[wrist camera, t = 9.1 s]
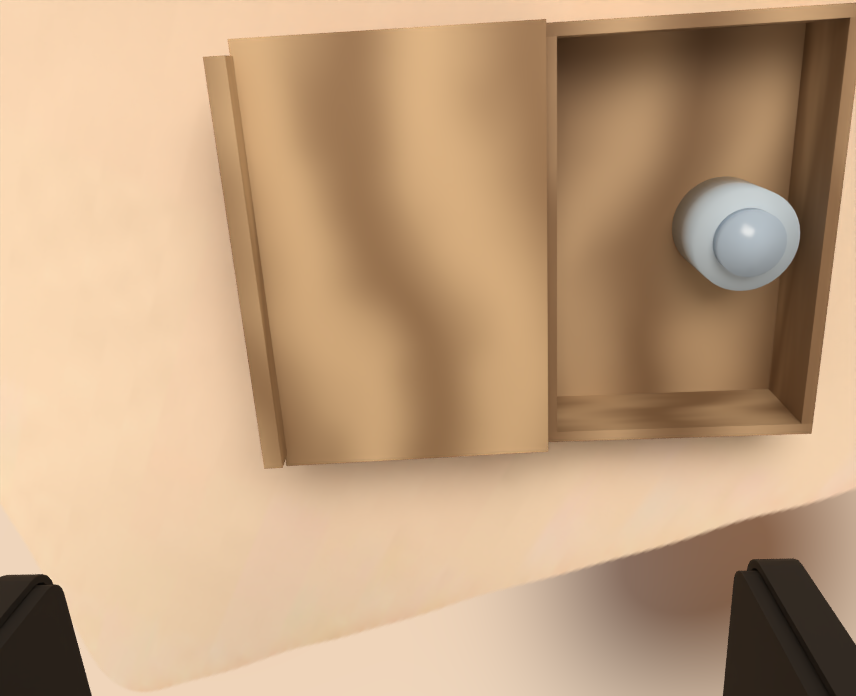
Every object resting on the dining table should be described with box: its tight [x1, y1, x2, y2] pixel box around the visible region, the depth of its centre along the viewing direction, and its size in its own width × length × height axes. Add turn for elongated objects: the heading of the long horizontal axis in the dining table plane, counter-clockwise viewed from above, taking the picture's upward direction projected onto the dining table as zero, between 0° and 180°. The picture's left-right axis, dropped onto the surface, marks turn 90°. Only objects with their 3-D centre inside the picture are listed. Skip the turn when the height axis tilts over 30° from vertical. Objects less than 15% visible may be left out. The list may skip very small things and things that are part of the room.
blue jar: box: [672, 176, 800, 291], centre depth 34 cm, size 4×4×4 cm
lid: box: [203, 19, 548, 469], centre depth 32 cm, size 13×18×2 cm
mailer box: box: [546, 3, 856, 442], centre depth 34 cm, size 12×18×4 cm, turn 3°
